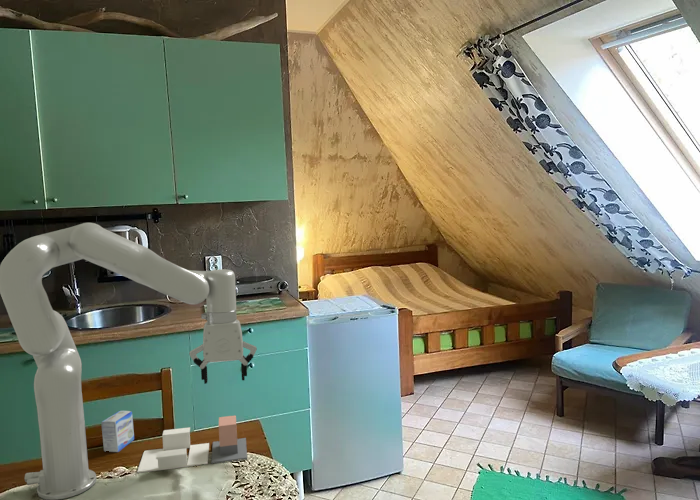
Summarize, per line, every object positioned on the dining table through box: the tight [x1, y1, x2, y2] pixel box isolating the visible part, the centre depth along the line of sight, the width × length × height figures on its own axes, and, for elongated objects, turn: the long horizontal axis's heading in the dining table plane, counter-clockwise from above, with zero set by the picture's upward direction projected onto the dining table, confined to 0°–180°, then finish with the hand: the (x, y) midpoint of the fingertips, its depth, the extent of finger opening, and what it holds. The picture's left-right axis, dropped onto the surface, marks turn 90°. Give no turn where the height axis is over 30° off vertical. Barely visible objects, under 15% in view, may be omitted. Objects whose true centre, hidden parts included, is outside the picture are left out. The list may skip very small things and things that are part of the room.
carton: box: [137, 426, 210, 474], centre depth 145 cm, size 17×16×4 cm
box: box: [218, 415, 238, 456], centre depth 147 cm, size 4×6×8 cm
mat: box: [211, 437, 248, 465], centre depth 148 cm, size 9×12×1 cm
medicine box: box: [101, 410, 135, 453], centre depth 153 cm, size 8×4×9 cm, turn 169°
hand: (224, 380), depth 146 cm, fingers open, 9 cm apart
